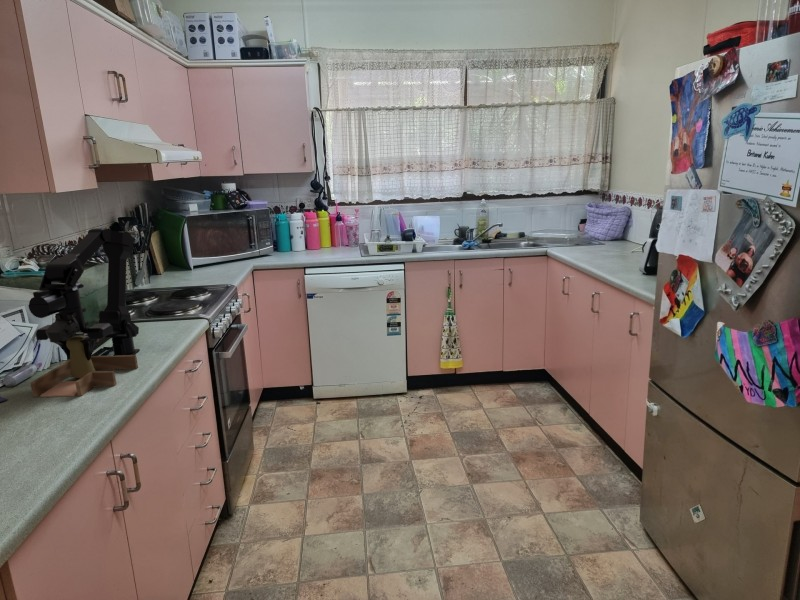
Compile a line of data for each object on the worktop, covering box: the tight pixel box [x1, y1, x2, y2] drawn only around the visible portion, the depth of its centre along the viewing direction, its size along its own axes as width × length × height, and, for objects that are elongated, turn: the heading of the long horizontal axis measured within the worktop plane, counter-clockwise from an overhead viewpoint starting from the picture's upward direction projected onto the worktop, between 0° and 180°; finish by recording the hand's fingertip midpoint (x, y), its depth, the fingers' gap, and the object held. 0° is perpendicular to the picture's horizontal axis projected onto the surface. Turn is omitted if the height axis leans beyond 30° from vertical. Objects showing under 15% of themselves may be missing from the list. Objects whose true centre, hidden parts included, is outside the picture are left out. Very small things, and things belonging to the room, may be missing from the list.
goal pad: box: [39, 380, 78, 398], centre depth 143 cm, size 9×9×1 cm
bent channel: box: [29, 354, 139, 398], centre depth 147 cm, size 19×18×4 cm
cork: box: [66, 335, 96, 379], centre depth 148 cm, size 6×6×11 cm
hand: (80, 360), depth 148 cm, fingers closed on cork, 4 cm apart
